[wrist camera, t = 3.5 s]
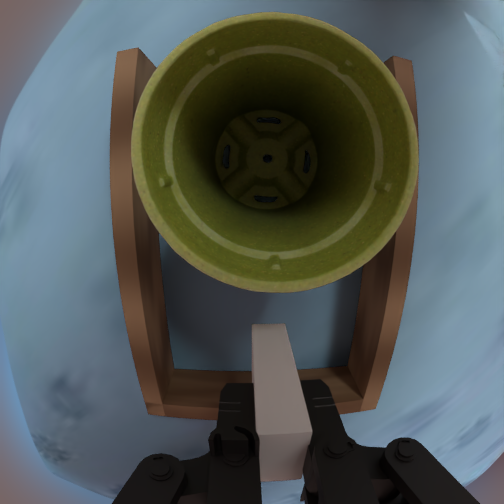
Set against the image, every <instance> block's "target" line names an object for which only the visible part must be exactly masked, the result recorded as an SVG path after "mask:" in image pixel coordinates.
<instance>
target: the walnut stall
mask: <svg viewBox="0 0 504 504" xmlns="http://www.w3.org/2000/svg"><path fill="white" fill-rule="evenodd" d="M384 64H385V66H386V67H387V68H388V69H389V71H390V72H391V73H392V75H393V76H394V78H395V79H396V81H397V82H398V84H399V86H400V87H401V89H402V91H403V93H404V95H405V98H406V100H407V103H408V105H409V108H410V111H411V113H412V115H413V120H414V123H415V127H416V132H417V140H418V118H417V103H416V92H415V82H414V74H413V66H412V61H410V60H407V59H403V58H400V57H396V56H392V57H391V58H389V59H388V60H387V61H385V62H384ZM156 69H157V68H156V67H155V66H154V64H153V63H152V62H151V61H150V60H149V59H148V58H147V57H146V55H145V54H144V53H143V52H142V51H141V50H140V49H139V48H133V49H128V50H124V51H119V52H117V57H116V65H115V74H114V83H113V94H112V108H111V128H110V190H111V210H112V225H113V237H114V247H115V256H116V265H117V272H118V280H119V287H120V293H121V299H122V305H123V311H124V317H125V322H126V327H127V332H128V337H129V342H130V346H131V351H132V355H133V359H134V364H135V368H136V372H137V376H138V379H139V383H140V387H141V390H142V394H143V397H144V401H145V404H146V408H147V411H148V414H151V415H159V416H168V417H177V418H189V419H204V420H217V419H218V411H219V410H218V409H219V400H220V391H221V390H222V389H223V387H224V386H225V385H226V383H252V371H209V370H187V369H174V364H173V358H172V352H171V345H170V338H169V331H168V324H167V316H166V308H165V300H164V291H163V281H162V270H161V259H160V246H159V232H158V230H157V229H156V227H155V226H154V224H153V223H152V221H151V220H150V218H149V216H148V214H147V212H146V210H145V208H144V206H143V203H142V201H141V198H140V196H139V193H138V190H137V187H136V184H135V180H134V174H133V168H132V159H131V136H132V128H133V121H134V116H135V112H136V109H137V106H138V103H139V100H140V97H141V95H142V93H143V91H144V89H145V87H146V85H147V83H148V81H149V79H150V78H151V76H152V75H153V73H154V71H155V70H156ZM418 157H419V144H418ZM418 172H419V165H418ZM417 199H418V175H417V181H416V185H415V189H414V193H413V197H412V200H411V203H410V205H409V208H408V210H407V213H406V215H405V217H404V219H403V221H402V223H401V224H400V226H399V227H398V229H397V230H396V232H395V233H394V235H393V236H392V237H391V239H390V240H389V241H388V242H387V244H386V245H385V246H384V247H383V248H382V249H381V250H380V251H379V252H378V253H377V254H376V255H375V256H374V257H373V258H372V259H371V260H369V261H368V262H367V263H365V264H364V265H363V271H362V280H361V288H360V295H359V302H358V309H357V316H356V322H355V328H354V334H353V339H352V345H351V350H350V355H349V360H348V365H347V366H340V367H329V368H317V369H301V370H297V372H298V376H299V380H313V379H321V380H322V381H323V382H324V383H326V384H327V385H328V386H329V388H330V391H331V394H332V398H333V399H334V402H335V406H336V407H337V410H338V412H339V415H340V414H347V413H354V412H360V411H366V410H372V409H376V406H377V403H378V400H379V397H380V394H381V391H382V388H383V385H384V382H385V378H386V375H387V372H388V368H389V365H390V361H391V358H392V354H393V350H394V346H395V343H396V339H397V334H398V330H399V326H400V321H401V317H402V312H403V307H404V302H405V297H406V292H407V286H408V280H409V274H410V267H411V260H412V253H413V245H414V236H415V226H416V214H417Z"/></svg>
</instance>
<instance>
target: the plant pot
mask: <svg viewBox="0 0 504 504" xmlns="http://www.w3.org/2000/svg"><path fill="white" fill-rule="evenodd" d="M260 117H263V118H265V117H266V118H269V117H275V118H278V119H280V121H281V123H280V124H276V123H269V122H261V123H259V122H258V121H257V120H258V118H260ZM227 145H229V146H230V147H231V148H230V154H229V164H230V165H229V168H228V169H226V168H225V167H224V165H223V152H224V149H225V147H226V146H227ZM306 150H307V152H308V153H309V156H310V162H311V164H310V169H309V171H308V172H307V173H304V172H303V168H304V163H305V155H306V154H305V151H306ZM266 154H267V155H271V157H272V161H271V162H269V163H266V162H264V161H263V157H264V155H266ZM131 159H132V168H133V174H134V180H135V184H136V187H137V190H138V193H139V196H140V198H141V201H142V203H143V206H144V208H145V210H146V212H147V214H148V216H149V218H150V220H151V221H152V223H153V224H154V226H155V227H156V229H157V230H158V232H159V233H160V234H161V235H162V237H163V238H164V239H165V240H166V242H167V243H168V244H169V245H170V246H171V248H172V249H173V250H174V251H175V252H176V253H177V254H178V255H180V256H181V257H182V258H183V259H184V260H186V261H187V262H188V263H189V264H191V265H192V266H194V267H195V268H196V269H198V270H199V271H201V272H203V273H204V274H206V275H208V276H210V277H212V278H214V279H216V280H219V281H221V282H223V283H226V284H229V285H232V286H235V287H238V288H241V289H246V290H250V291H256V292H270V293H290V292H299V291H305V290H310V289H314V288H317V287H321V286H323V285H326V284H329V283H332V282H334V281H337V280H339V279H341V278H343V277H345V276H347V275H349V274H351V273H352V272H354V271H355V270H357V269H359V268H360V267H361V266H363V265H364V264H365V263H367V262H368V261H369V260H371V259H372V258H373V257H374V256H375V255H376V254H377V253H378V252H379V251H380V250H381V249H382V248H383V247H384V246H385V245H386V244H387V242H388V241H389V240H390V239H391V237H392V236H393V235H394V233H395V232H396V230H397V229H398V227H399V226H400V224H401V223H402V221H403V219H404V217H405V215H406V213H407V210H408V208H409V205H410V203H411V200H412V197H413V193H414V189H415V185H416V181H417V175H418V165H419V157H418V140H417V132H416V127H415V123H414V120H413V115H412V113H411V111H410V108H409V105H408V103H407V100H406V98H405V95H404V93H403V91H402V89H401V87H400V86H399V84H398V82H397V81H396V79H395V78H394V76H393V75H392V73H391V72H390V71H389V69H388V68H387V67H386V66H385V64H384V63H383V62H382V61H381V60H380V59H379V58H378V57H377V56H376V55H375V54H374V53H373V52H372V51H371V50H370V49H369V48H367V47H366V46H365V45H364V44H362V43H361V42H359V41H358V40H357V39H355V38H353V37H352V36H350V35H349V34H347V33H345V32H344V31H342V30H340V29H338V28H337V27H334V26H332V25H330V24H328V23H326V22H323V21H321V20H318V19H314V18H311V17H307V16H302V15H297V14H287V13H281V12H260V13H254V14H248V15H240V16H235V17H231V18H228V19H225V20H222V21H219V22H216V23H214V24H212V25H210V26H208V27H206V28H204V29H203V30H201V31H199V32H197V33H195V34H194V35H192V36H191V37H189V38H187V39H186V40H184V41H183V42H182V43H181V44H179V45H178V46H177V47H176V48H175V49H174V50H173V51H172V52H171V53H170V54H169V55H168V56H167V57H166V58H165V59H164V60H163V61H162V63H161V64H160V65H159V66H158V67H157V69H156V70H155V71H154V73H153V75H152V76H151V78H150V79H149V81H148V83H147V85H146V87H145V89H144V91H143V93H142V95H141V97H140V100H139V103H138V106H137V109H136V112H135V116H134V121H133V128H132V136H131ZM255 195H257V196H264V197H277V199H276V201H275V202H259V201H257V200H255V199H254V196H255Z"/></svg>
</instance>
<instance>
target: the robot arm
mask: <svg viewBox="0 0 504 504" xmlns="http://www.w3.org/2000/svg"><path fill="white" fill-rule="evenodd" d="M218 410H219V411H218V419H217V428H216V429H215V430H213V431H212V432H211V434H210V436H209V439H208V441H209V447H210V451H209V452H208V453H207V454H205V455H203V456H201V457H199V458H195V459H190V460H183V461H179V460H178V459H177V458H175V457H173V456H171V455H168V454H162V453H161V454H153V455H150V456H148V457H146V458H144V459H143V460H142V461H141V462H140V463H139V465H138V466H137V468H136V469H135V471H134V472H133V474H132V475H131V477H130V478H129V479H128V481H127V482H126V484H125V485H124V487H123V488H122V490H121V491H120V493H119V494H118V495H117V497H116V498H115V500H114V501H113V503H112V504H262V497H261V482H264V481H283V480H296V479H301V478H302V474H303V476H304V481H305V484H304V487H303V491H302V494H301V499H300V501H305V504H480V503H479V502H478V501H477V500H476V499H475V498H474V497H473V496H472V495H471V494H470V493H469V492H468V491H467V490H466V489H465V488H464V487H463V486H462V485H461V484H460V483H459V482H458V481H457V480H456V479H455V478H454V477H453V476H452V475H451V474H450V473H449V472H448V471H447V470H446V469H445V468H444V467H443V466H442V465H441V464H440V463H439V462H438V461H437V459H436V458H435V457H434V456H433V455H432V454H431V453H430V452H429V451H428V450H427V449H426V448H425V447H424V446H423V445H422V444H421V443H419V442H418V441H417V440H415V439H411V438H398V439H395V440H393V441H391V442H390V443H389V444H388V445H387V447H386V448H382V447H366V446H362V445H359V444H357V443H356V442H355V440H353V439H351V438H350V437H348V436H347V434H346V432H345V429H344V426H343V423H342V421H341V418H340V415H339V412H338V410H337V407H336V406H335V402H334V399H333V398H332V394H331V391H330V388H329V386H328V385H327V384H326V383H324V382H323V381H322V380H321V379H313V380H299V376H298V372H297V368H296V364H295V360H294V356H293V352H292V349H291V345H290V341H289V337H288V333H287V329H286V326H285V324H252V383H226V385H225V386H224V387H223V389H222V390H221V391H220V400H219V409H218Z"/></svg>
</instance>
